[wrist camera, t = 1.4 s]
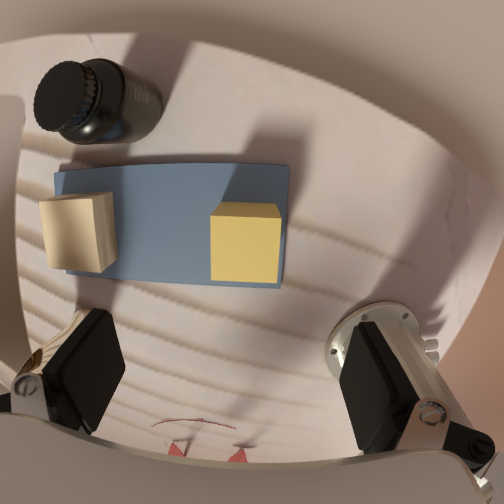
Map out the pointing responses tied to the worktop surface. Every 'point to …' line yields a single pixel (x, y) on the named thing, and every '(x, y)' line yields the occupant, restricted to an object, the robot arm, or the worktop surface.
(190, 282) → the board
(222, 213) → the mustard block
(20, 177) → the worktop surface
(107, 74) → the supplement bottle
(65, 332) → the beer glass
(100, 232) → the beech base block
